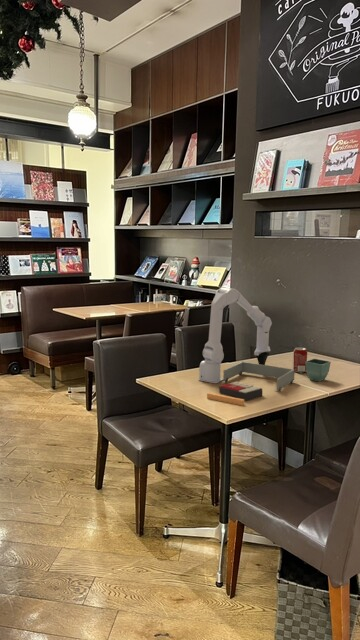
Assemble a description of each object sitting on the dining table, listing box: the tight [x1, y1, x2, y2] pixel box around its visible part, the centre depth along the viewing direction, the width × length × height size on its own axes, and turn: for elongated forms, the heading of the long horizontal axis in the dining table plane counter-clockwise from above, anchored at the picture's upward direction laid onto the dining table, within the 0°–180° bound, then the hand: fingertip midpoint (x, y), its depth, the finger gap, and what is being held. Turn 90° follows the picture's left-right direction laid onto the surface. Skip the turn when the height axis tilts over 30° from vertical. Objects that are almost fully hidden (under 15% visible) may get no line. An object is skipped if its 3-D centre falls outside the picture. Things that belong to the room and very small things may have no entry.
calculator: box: [218, 381, 263, 402], centre depth 195 cm, size 11×4×15 cm
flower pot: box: [305, 358, 331, 382], centre depth 218 cm, size 9×9×9 cm
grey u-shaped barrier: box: [222, 361, 296, 392], centre depth 213 cm, size 27×20×6 cm
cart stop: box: [206, 392, 245, 406], centre depth 186 cm, size 16×2×2 cm, turn 57°
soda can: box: [292, 346, 308, 374], centre depth 233 cm, size 7×7×12 cm
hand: (261, 367), depth 228 cm, fingers closed
